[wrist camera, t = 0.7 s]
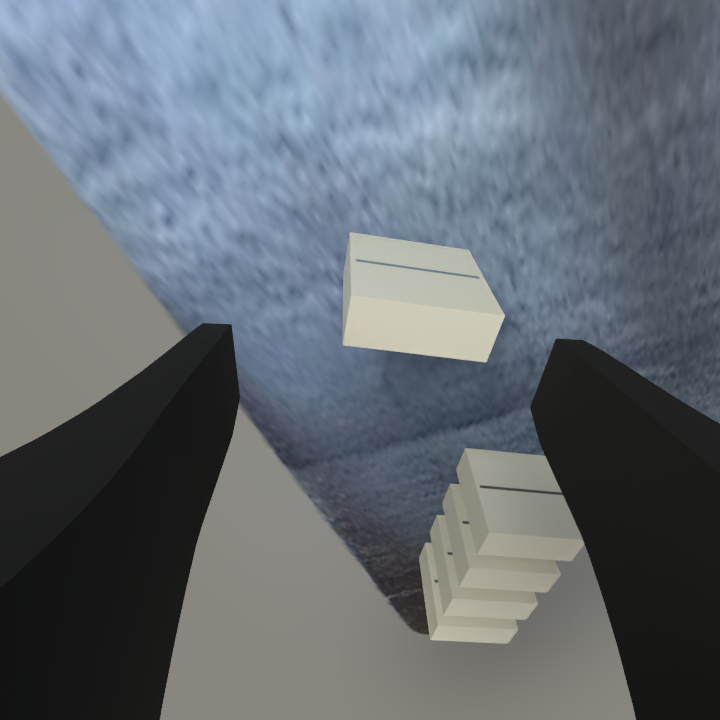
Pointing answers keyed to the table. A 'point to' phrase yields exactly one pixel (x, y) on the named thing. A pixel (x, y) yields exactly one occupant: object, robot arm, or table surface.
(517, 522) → the domino
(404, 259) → the domino
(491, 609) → the domino
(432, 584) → the domino
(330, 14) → the table surface
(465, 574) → the domino
